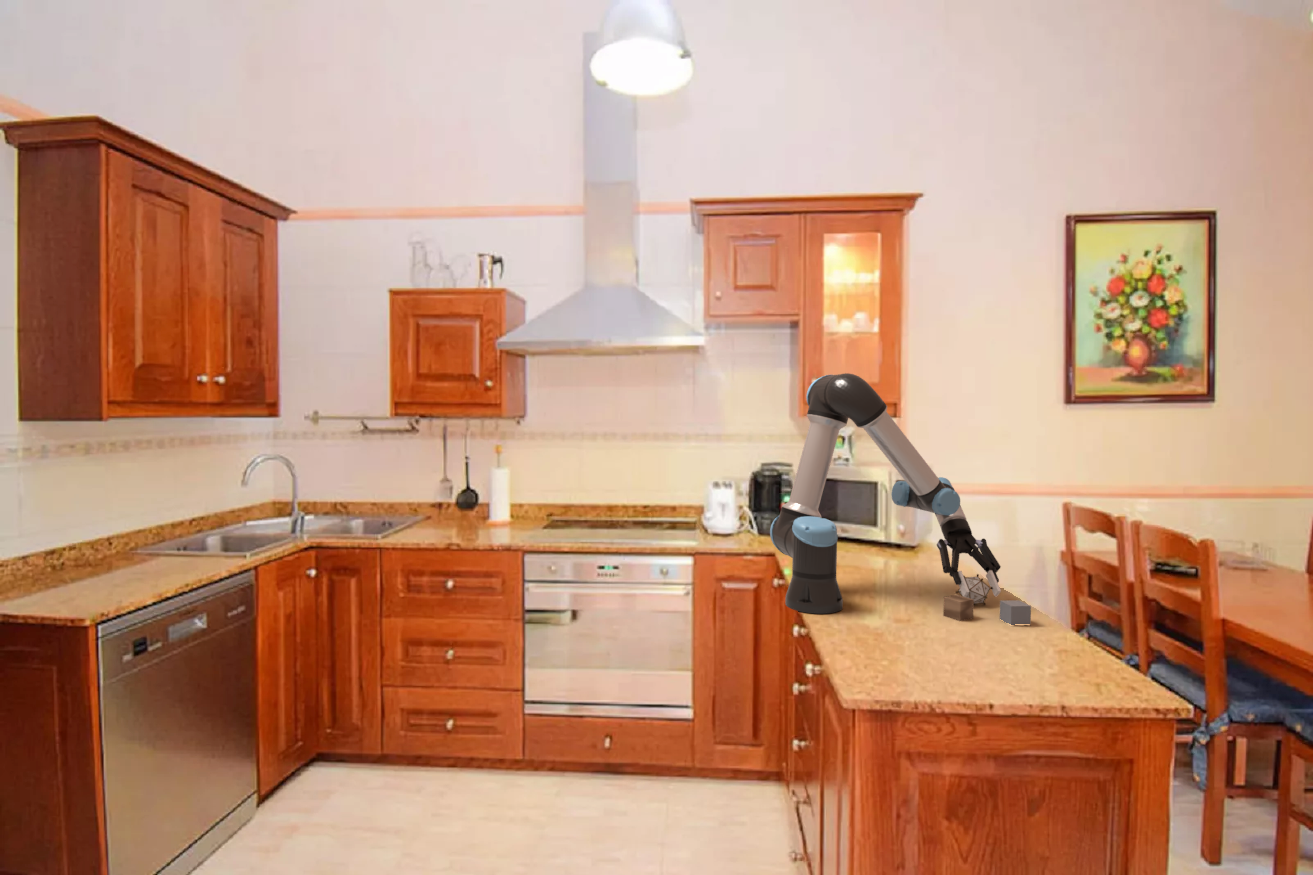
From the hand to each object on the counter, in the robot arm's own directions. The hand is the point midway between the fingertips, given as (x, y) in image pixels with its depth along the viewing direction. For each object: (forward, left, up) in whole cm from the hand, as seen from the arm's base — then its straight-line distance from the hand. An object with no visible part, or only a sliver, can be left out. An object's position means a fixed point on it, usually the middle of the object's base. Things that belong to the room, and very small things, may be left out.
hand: (982, 594), depth 183 cm
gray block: (-1, -13, -4) cm, 13 cm away
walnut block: (-12, -6, -4) cm, 13 cm away
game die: (0, +3, -4) cm, 5 cm away
